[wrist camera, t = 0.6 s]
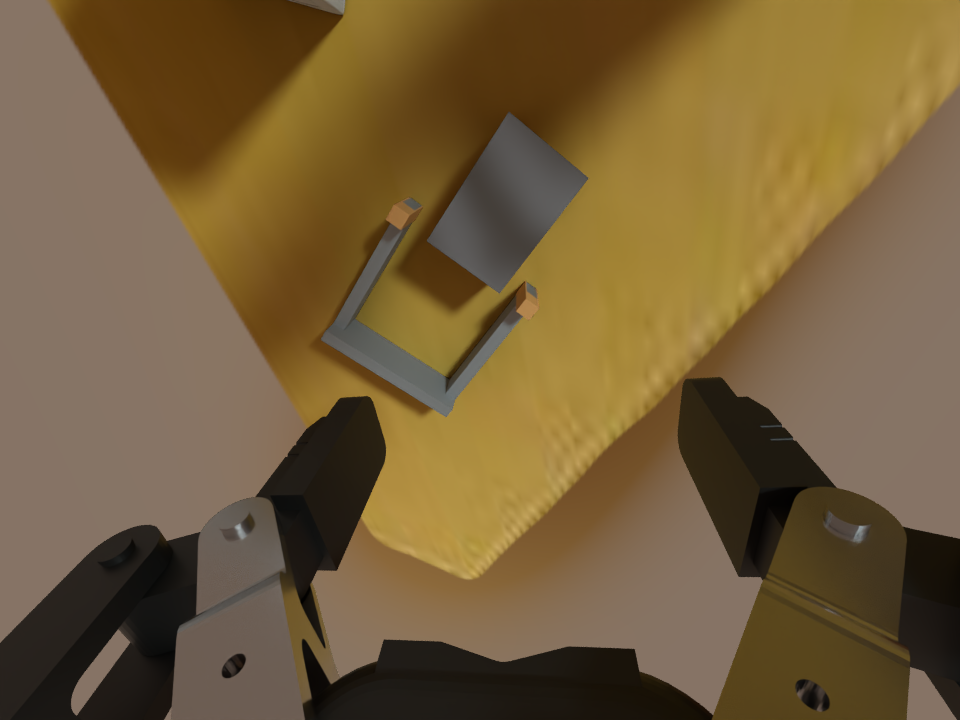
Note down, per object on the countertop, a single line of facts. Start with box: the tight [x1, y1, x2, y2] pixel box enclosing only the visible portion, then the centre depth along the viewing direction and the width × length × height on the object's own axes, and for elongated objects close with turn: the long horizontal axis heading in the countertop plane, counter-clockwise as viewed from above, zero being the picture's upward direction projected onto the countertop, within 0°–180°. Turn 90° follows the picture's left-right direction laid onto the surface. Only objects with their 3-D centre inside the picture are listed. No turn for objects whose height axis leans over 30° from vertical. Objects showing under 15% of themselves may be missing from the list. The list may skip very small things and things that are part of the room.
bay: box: [321, 197, 539, 417], centre depth 33 cm, size 12×12×4 cm
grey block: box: [427, 112, 588, 293], centre depth 29 cm, size 9×6×6 cm, turn 145°
